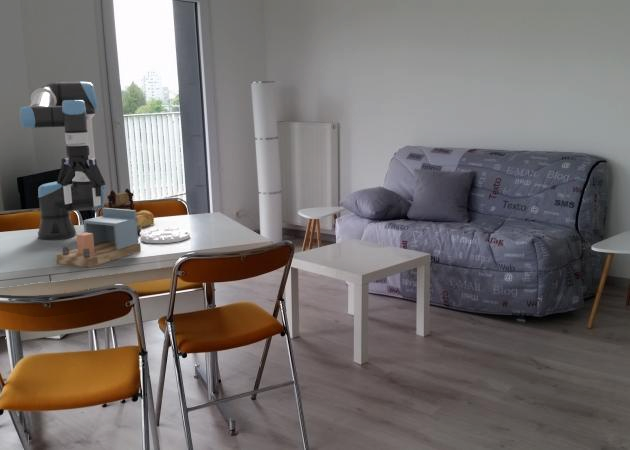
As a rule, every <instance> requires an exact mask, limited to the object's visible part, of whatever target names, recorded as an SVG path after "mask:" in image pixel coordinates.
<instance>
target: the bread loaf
mask: <svg viewBox="0 0 630 450" xmlns="http://www.w3.org/2000/svg"><path fill="white" fill-rule="evenodd" d="M136 217H137V226H138V227H140V228H141V229H143V228H146V227H150V226H153V225H154V224H155V223H154V222H155V216H154V214H153V213H152V212H151V211H149V210H145V209H143V210H139V211H136Z"/></svg>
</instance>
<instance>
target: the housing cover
mask: <svg viewBox="0 0 630 450" xmlns="http://www.w3.org/2000/svg"><path fill="white" fill-rule="evenodd" d="M101 211H102V215H101V216H97V217H92V218H88V219H87V218H86V219H85V220H83V221H82V223H83V233H85V232H86V233H93V240H94V244H97V243H100V242H104V241H115V244H116V249H117V250H118V249H122V248H125V247H128V246H131V245H134V244H138V243H139V236H138V231H137V217H136V213H137V210H136V209H133V210H131V209H127V208H125V209H113V208H108V207H102V208H101Z"/></svg>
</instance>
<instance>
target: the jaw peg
mask: <svg viewBox="0 0 630 450" xmlns="http://www.w3.org/2000/svg"><path fill="white" fill-rule="evenodd" d="M75 237H76V245H77V249H78V254H80V255H84V254H83V249H84V248H89V254H92V253H95V251H94V240H93V233H86V232H85V233H84V232H80V233H76V235H75Z"/></svg>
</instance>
